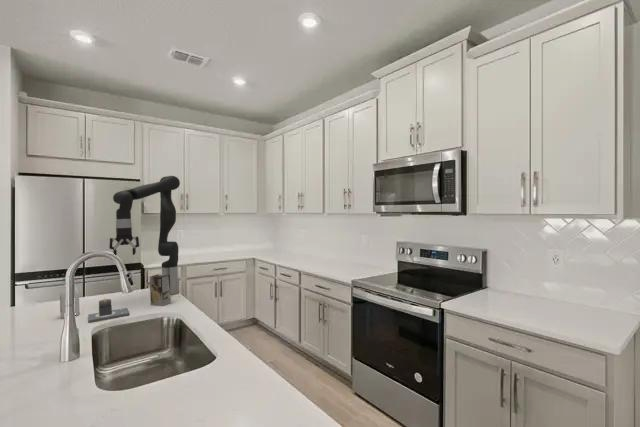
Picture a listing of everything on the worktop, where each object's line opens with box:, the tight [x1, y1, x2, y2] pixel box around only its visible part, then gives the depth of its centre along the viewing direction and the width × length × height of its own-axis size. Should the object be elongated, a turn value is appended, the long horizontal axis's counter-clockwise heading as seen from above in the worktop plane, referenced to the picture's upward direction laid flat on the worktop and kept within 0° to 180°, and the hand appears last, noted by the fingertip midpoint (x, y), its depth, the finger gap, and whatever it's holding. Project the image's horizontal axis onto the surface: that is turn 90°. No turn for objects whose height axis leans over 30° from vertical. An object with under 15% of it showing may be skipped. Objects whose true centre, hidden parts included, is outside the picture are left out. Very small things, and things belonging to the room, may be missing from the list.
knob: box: [98, 298, 113, 317], centre depth 161 cm, size 5×5×7 cm
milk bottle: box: [59, 277, 81, 319], centre depth 163 cm, size 8×8×20 cm
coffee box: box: [149, 274, 172, 307], centre depth 182 cm, size 9×6×16 cm
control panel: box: [87, 307, 130, 324], centre depth 162 cm, size 17×11×4 cm, turn 126°
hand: (124, 255), depth 180 cm, fingers open, 8 cm apart
